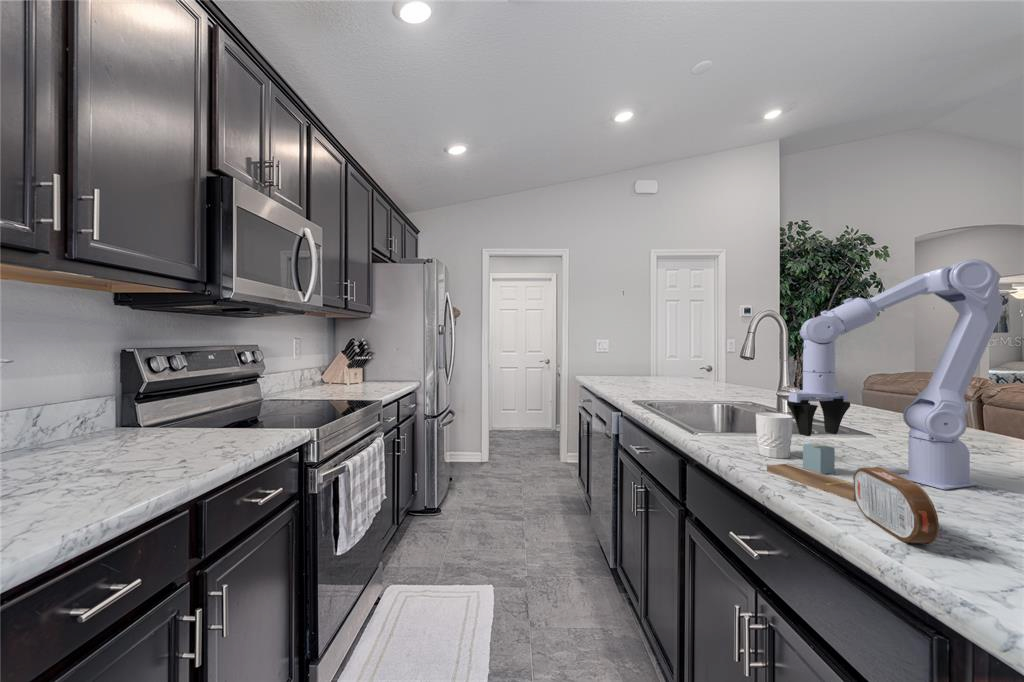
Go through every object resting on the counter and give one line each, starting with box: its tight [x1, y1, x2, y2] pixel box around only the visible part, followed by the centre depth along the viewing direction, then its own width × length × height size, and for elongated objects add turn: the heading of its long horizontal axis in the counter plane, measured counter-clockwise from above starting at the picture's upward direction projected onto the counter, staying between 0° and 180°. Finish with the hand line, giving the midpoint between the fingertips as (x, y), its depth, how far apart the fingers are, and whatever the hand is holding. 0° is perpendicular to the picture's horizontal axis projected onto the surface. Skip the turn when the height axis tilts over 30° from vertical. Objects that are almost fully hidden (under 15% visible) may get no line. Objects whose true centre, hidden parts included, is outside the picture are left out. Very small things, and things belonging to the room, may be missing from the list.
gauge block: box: [802, 443, 836, 475], centre depth 93 cm, size 4×4×6 cm
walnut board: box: [766, 463, 856, 502], centre depth 85 cm, size 6×18×1 cm, turn 16°
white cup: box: [755, 412, 794, 459], centre depth 106 cm, size 8×8×10 cm
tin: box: [852, 466, 940, 545], centre depth 64 cm, size 15×3×8 cm, turn 168°
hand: (818, 434), depth 93 cm, fingers open, 7 cm apart
